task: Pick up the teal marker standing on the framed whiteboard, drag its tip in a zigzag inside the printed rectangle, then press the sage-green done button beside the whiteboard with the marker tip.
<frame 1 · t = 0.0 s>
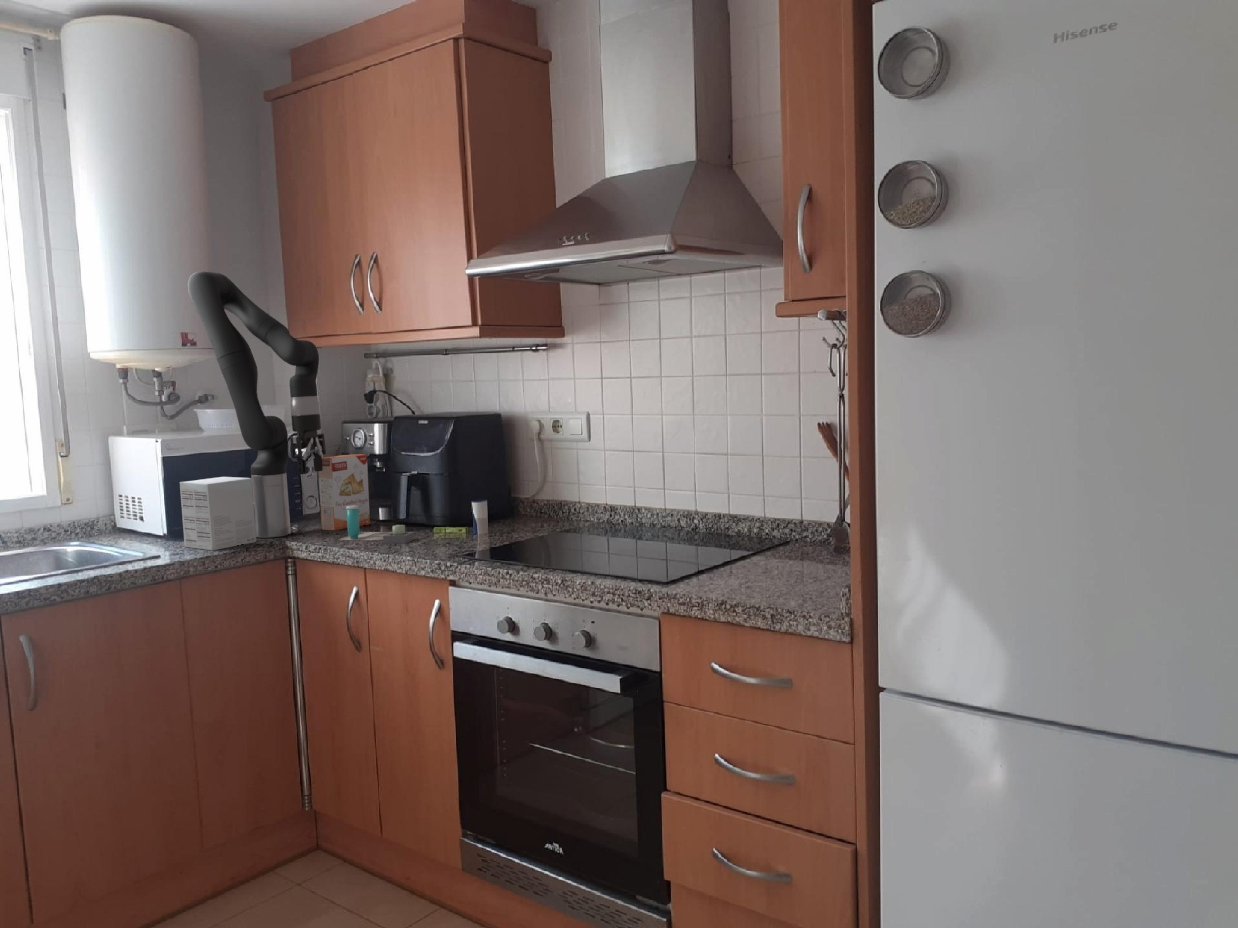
hand: (310, 472, 269), 18 cm above the worktop, tool pointing down, fingers open, 8 cm apart
framed whiteboard: (373, 538, 263), on the worktop
done button: (398, 531, 253), point 3 cm above the worktop, slide at 0.0 cm
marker: (354, 538, 259), point 1 cm above the worktop, touching framed whiteboard
cracker box: (346, 528, 282), on the worktop, touching gripper
supplement box: (220, 545, 262), on the worktop
button housing: (399, 543, 253), on the worktop
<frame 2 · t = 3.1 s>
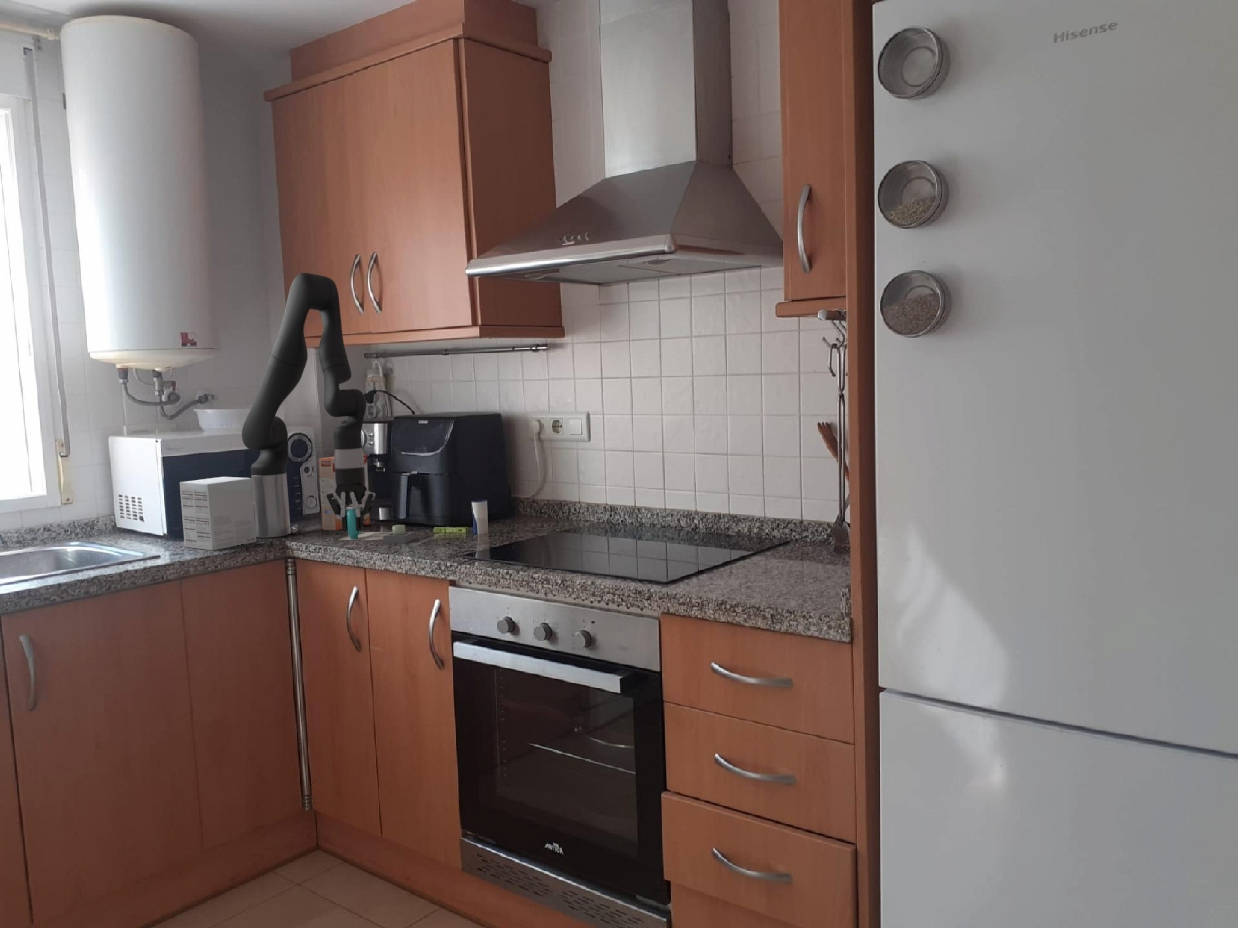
hand: (353, 530, 259), 3 cm above the worktop, tool pointing down, fingers closed on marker, 3 cm apart
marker: (354, 538, 259), point 1 cm above the worktop, touching framed whiteboard, gripper
cracker box: (347, 528, 282), on the worktop
everything else where it was.
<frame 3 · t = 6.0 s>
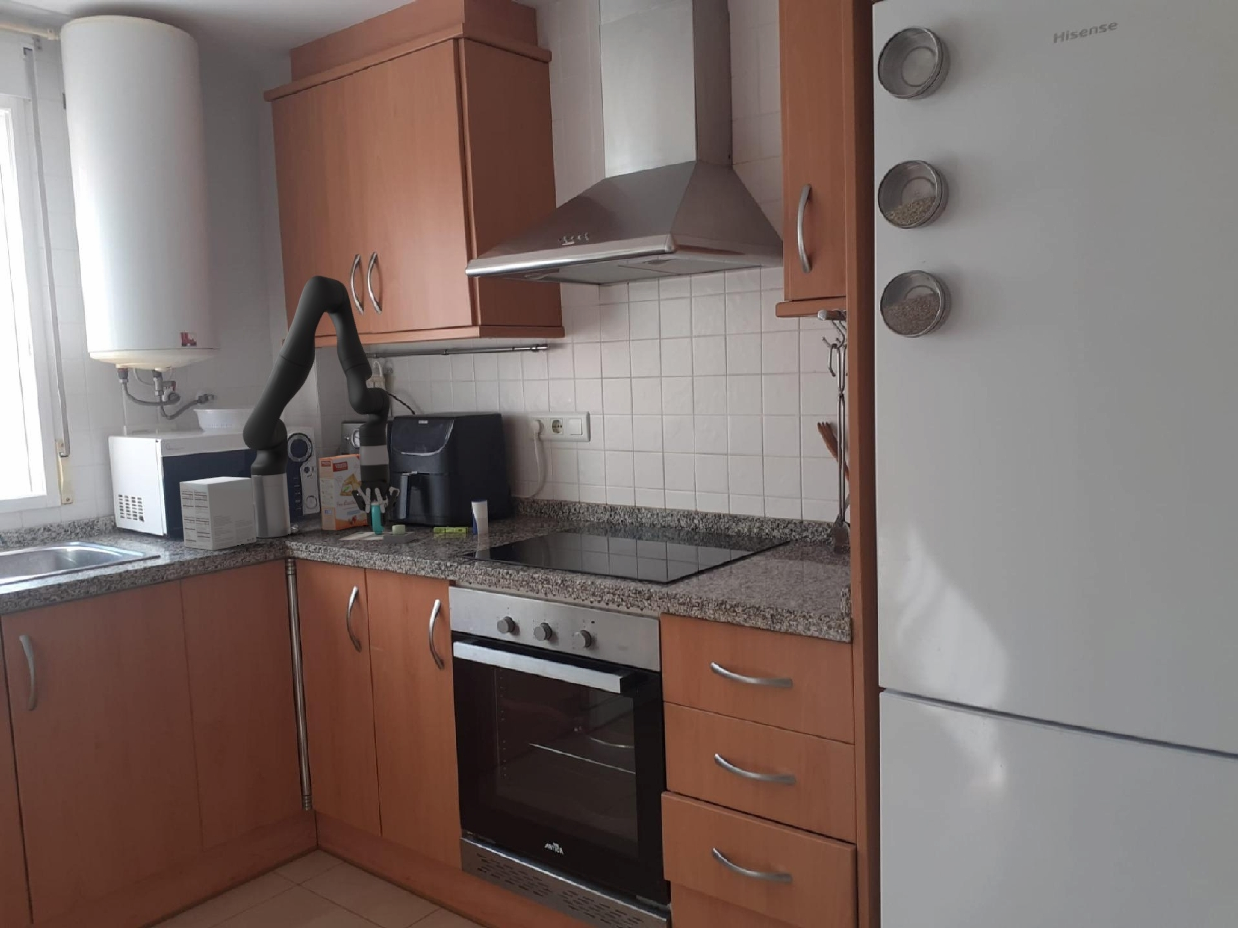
hand: (378, 525, 264), 3 cm above the worktop, tool pointing down, fingers closed on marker, 3 cm apart
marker: (378, 533, 264), point 1 cm above the worktop, touching gripper
everything else where it was.
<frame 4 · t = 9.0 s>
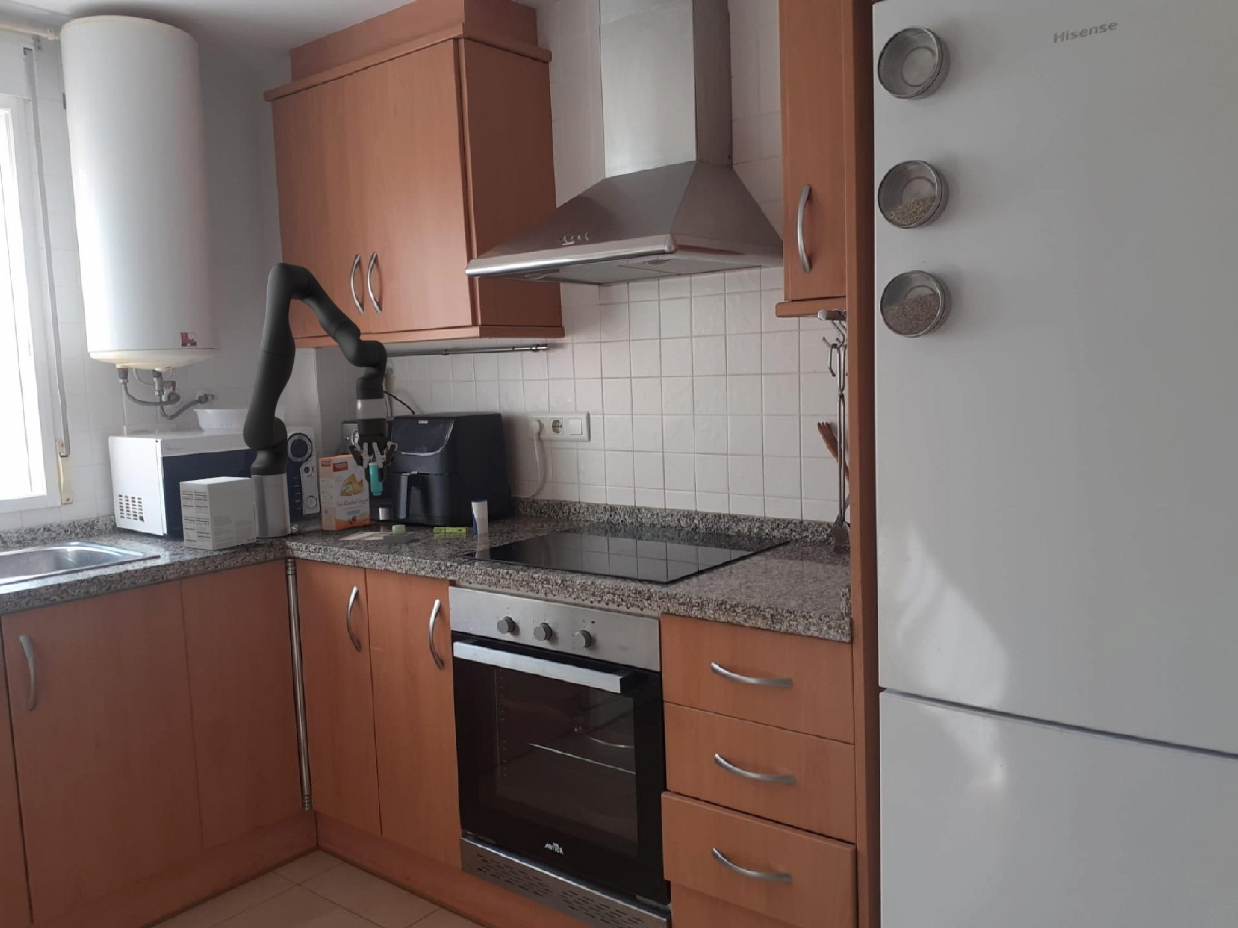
hand: (376, 481, 260), 15 cm above the worktop, tool pointing down, fingers closed on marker, 3 cm apart
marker: (377, 494, 260), point 12 cm above the worktop, touching gripper
everything else where it was.
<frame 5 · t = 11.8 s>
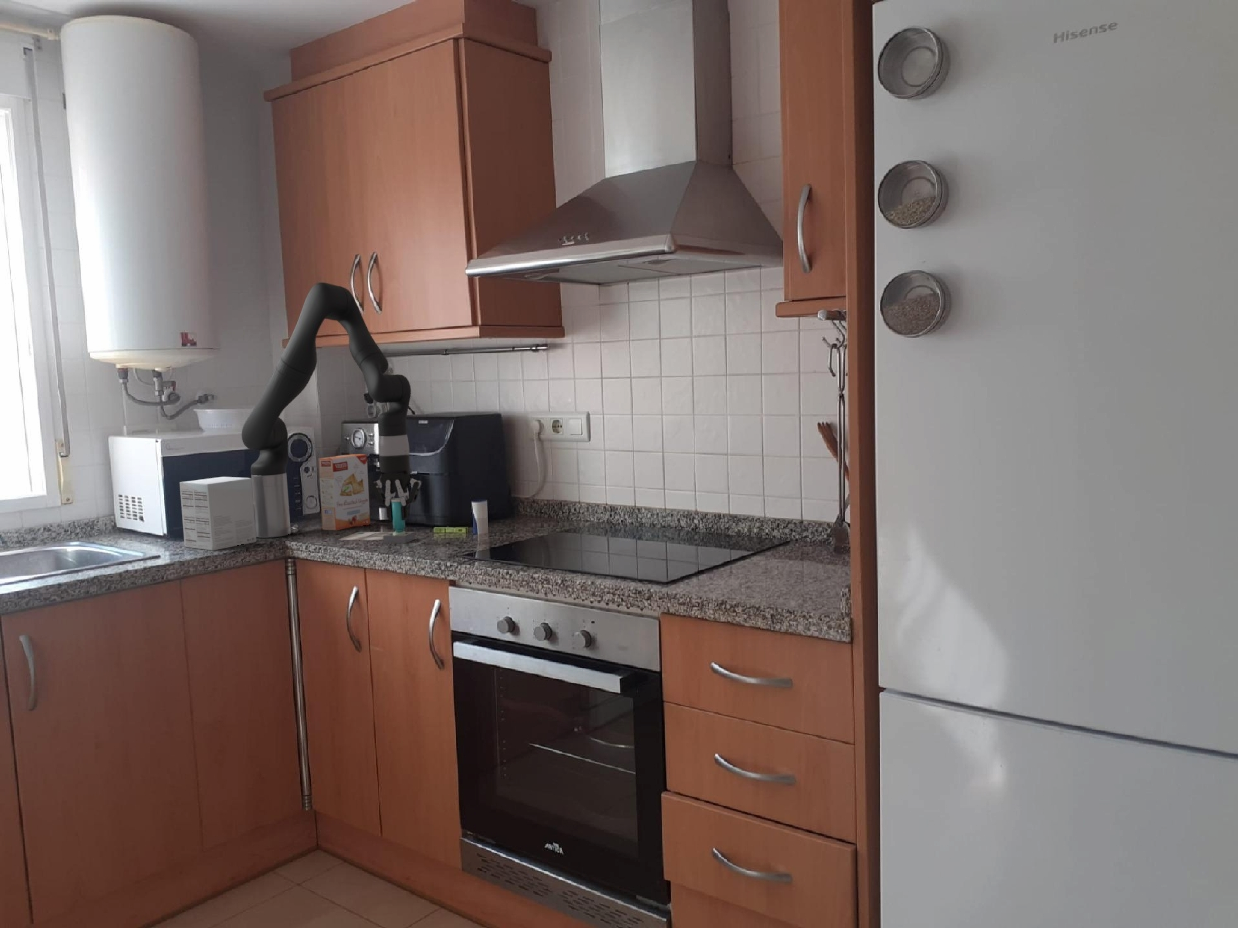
hand: (398, 519, 252), 6 cm above the worktop, tool pointing down, fingers closed on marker, 3 cm apart
done button: (399, 537, 253), point 1 cm above the worktop, slide at 1.6 cm, touching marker
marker: (399, 531, 253), point 3 cm above the worktop, touching done button, gripper
everything else where it was.
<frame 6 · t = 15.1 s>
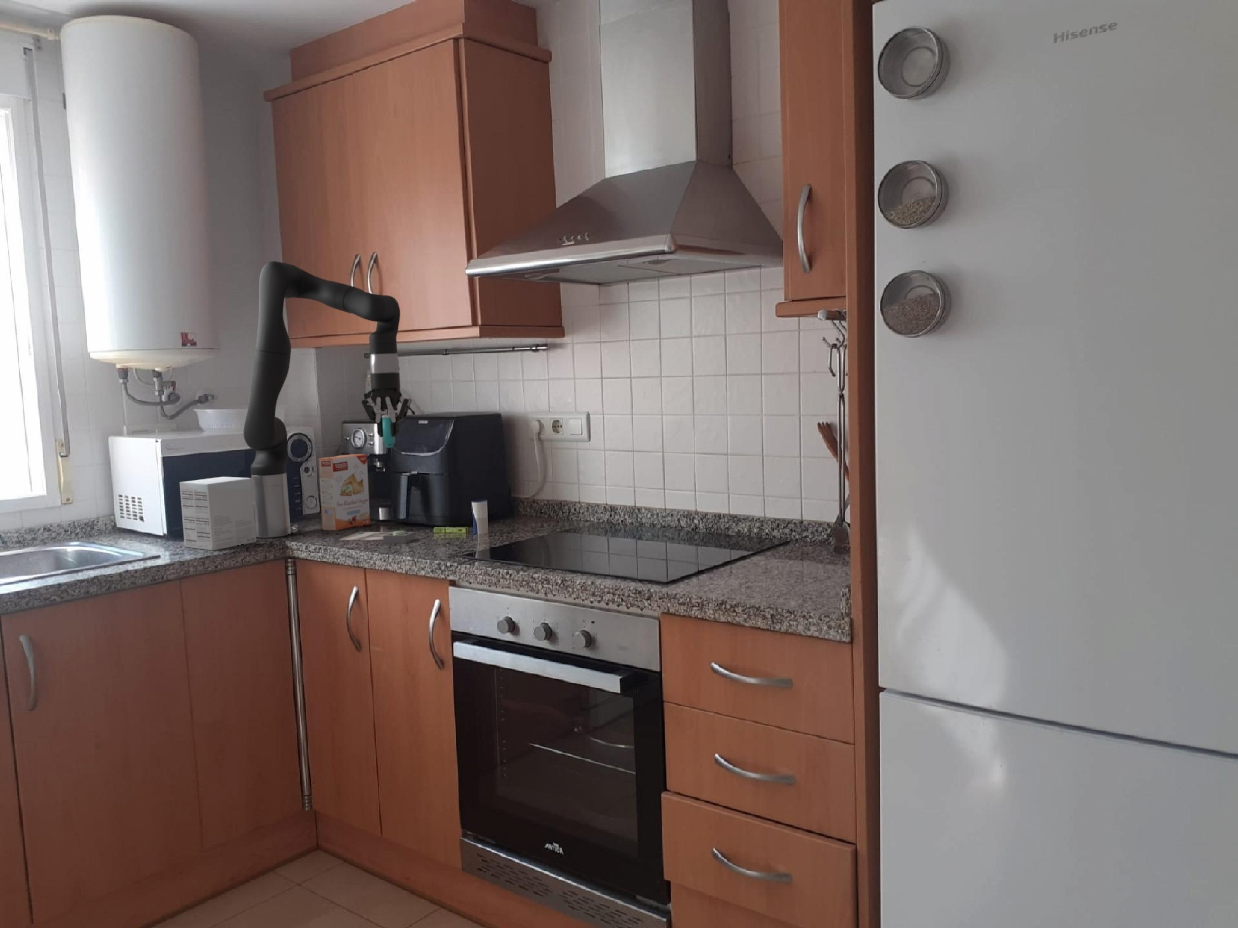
hand: (388, 436, 260), 27 cm above the worktop, tool pointing down, fingers closed on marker, 3 cm apart
done button: (399, 537, 253), point 2 cm above the worktop, slide at 1.5 cm
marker: (389, 447, 261), point 24 cm above the worktop, touching gripper
everything else where it was.
at the end: done button slide at 1.5 cm; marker moved 25.7 cm from its start; the gripper is holding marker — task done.
